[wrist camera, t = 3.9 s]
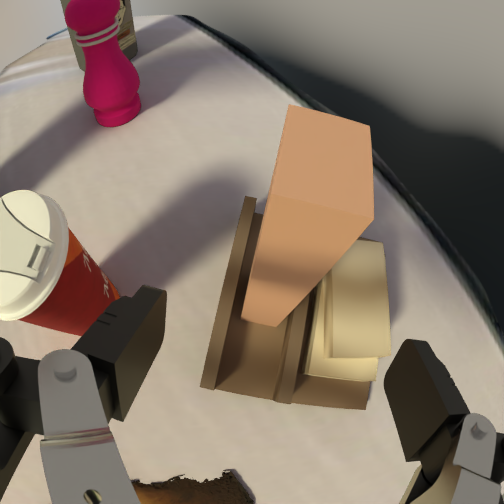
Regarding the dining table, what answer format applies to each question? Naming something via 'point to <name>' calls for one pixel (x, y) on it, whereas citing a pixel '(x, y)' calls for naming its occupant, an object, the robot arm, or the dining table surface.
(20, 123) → the dining table surface
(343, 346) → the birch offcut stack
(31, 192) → the paper cup
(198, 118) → the dining table surface
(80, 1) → the pepper mill
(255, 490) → the dining table surface
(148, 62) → the dining table surface
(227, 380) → the walnut rack
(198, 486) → the parchment
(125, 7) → the liquor
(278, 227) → the terracotta block
